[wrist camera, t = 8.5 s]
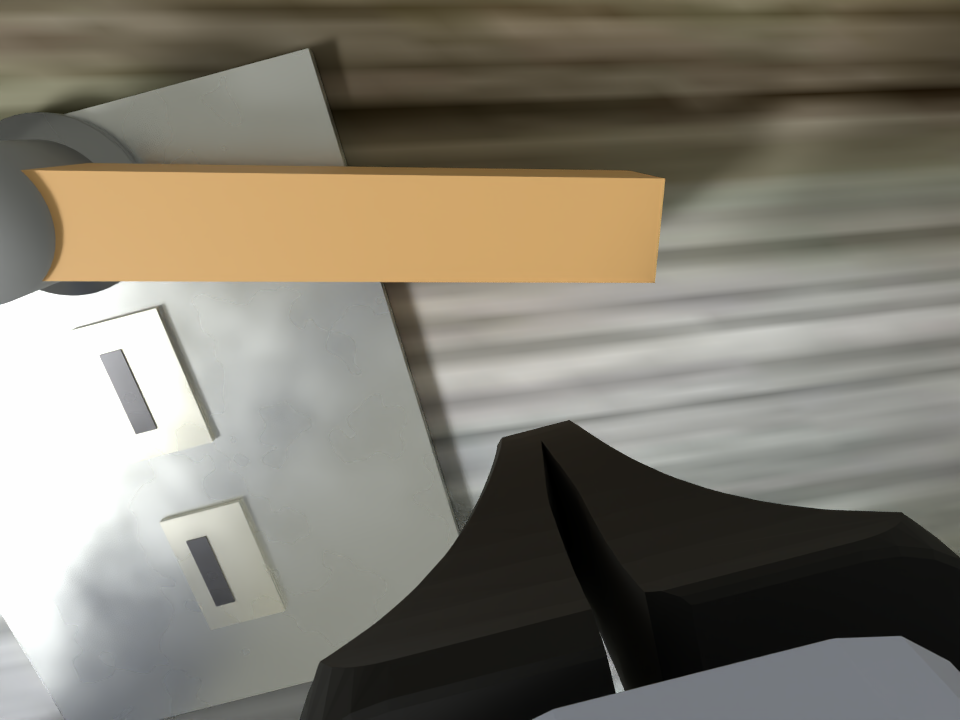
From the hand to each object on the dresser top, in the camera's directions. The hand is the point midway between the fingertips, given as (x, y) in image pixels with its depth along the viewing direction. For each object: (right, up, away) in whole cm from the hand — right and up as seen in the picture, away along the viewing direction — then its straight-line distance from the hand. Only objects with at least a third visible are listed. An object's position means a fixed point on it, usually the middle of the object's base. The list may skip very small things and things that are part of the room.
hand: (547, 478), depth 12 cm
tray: (-10, 0, +8) cm, 13 cm away
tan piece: (-5, +6, +5) cm, 9 cm away
